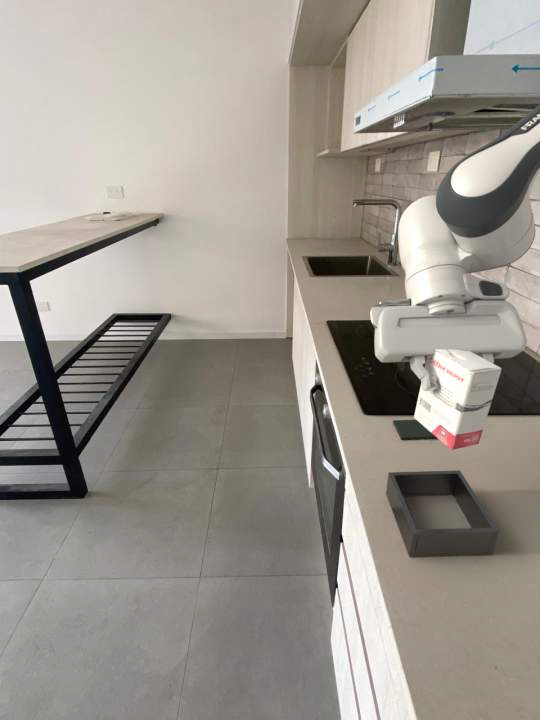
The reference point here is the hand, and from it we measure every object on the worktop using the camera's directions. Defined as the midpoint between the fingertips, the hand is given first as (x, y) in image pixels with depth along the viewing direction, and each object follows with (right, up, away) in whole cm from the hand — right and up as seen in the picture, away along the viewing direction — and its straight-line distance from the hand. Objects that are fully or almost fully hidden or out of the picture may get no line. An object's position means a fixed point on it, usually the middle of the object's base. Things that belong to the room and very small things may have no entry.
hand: (456, 389), depth 53 cm
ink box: (0, -6, +3) cm, 7 cm away
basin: (-1, -20, +6) cm, 21 cm away
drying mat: (+5, -10, +27) cm, 29 cm away
